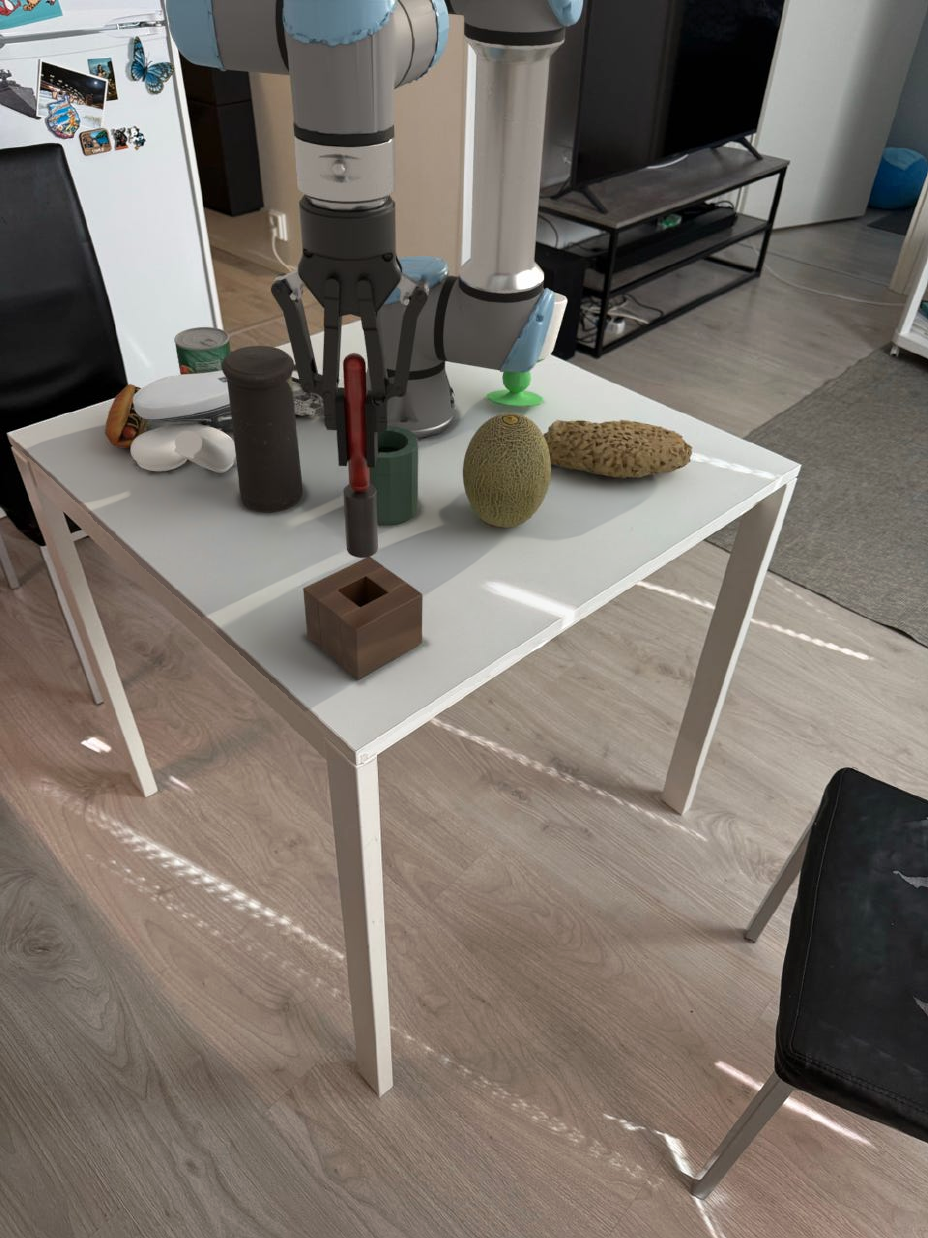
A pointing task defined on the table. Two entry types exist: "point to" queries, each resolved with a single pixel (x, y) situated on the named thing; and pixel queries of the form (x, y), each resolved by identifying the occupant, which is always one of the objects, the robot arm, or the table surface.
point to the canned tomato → (201, 349)
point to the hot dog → (124, 419)
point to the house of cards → (307, 402)
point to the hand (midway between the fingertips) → (358, 458)
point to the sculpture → (184, 448)
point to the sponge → (616, 448)
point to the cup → (522, 380)
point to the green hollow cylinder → (396, 476)
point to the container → (264, 427)
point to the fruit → (507, 470)
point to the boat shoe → (187, 400)
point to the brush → (358, 465)
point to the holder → (363, 616)
